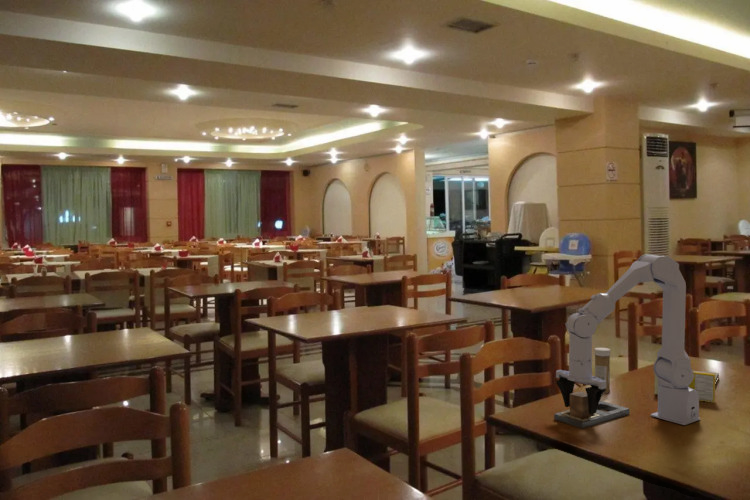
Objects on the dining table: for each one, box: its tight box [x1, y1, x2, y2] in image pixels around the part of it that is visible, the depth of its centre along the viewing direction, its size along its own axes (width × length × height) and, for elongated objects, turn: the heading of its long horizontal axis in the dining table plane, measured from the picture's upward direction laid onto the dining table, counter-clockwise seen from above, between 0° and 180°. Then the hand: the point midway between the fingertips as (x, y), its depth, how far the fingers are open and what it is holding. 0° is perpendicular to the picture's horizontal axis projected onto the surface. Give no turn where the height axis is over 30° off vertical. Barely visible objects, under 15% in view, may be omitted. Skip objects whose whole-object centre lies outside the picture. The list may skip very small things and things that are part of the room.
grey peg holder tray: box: [553, 400, 630, 430], centre depth 164 cm, size 9×20×2 cm, turn 124°
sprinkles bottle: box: [594, 347, 611, 394], centre depth 187 cm, size 5×5×14 cm
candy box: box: [653, 371, 716, 404], centre depth 180 cm, size 16×2×8 cm, turn 52°
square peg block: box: [569, 391, 592, 419], centre depth 161 cm, size 4×4×7 cm
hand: (580, 409), depth 161 cm, fingers open, 7 cm apart
